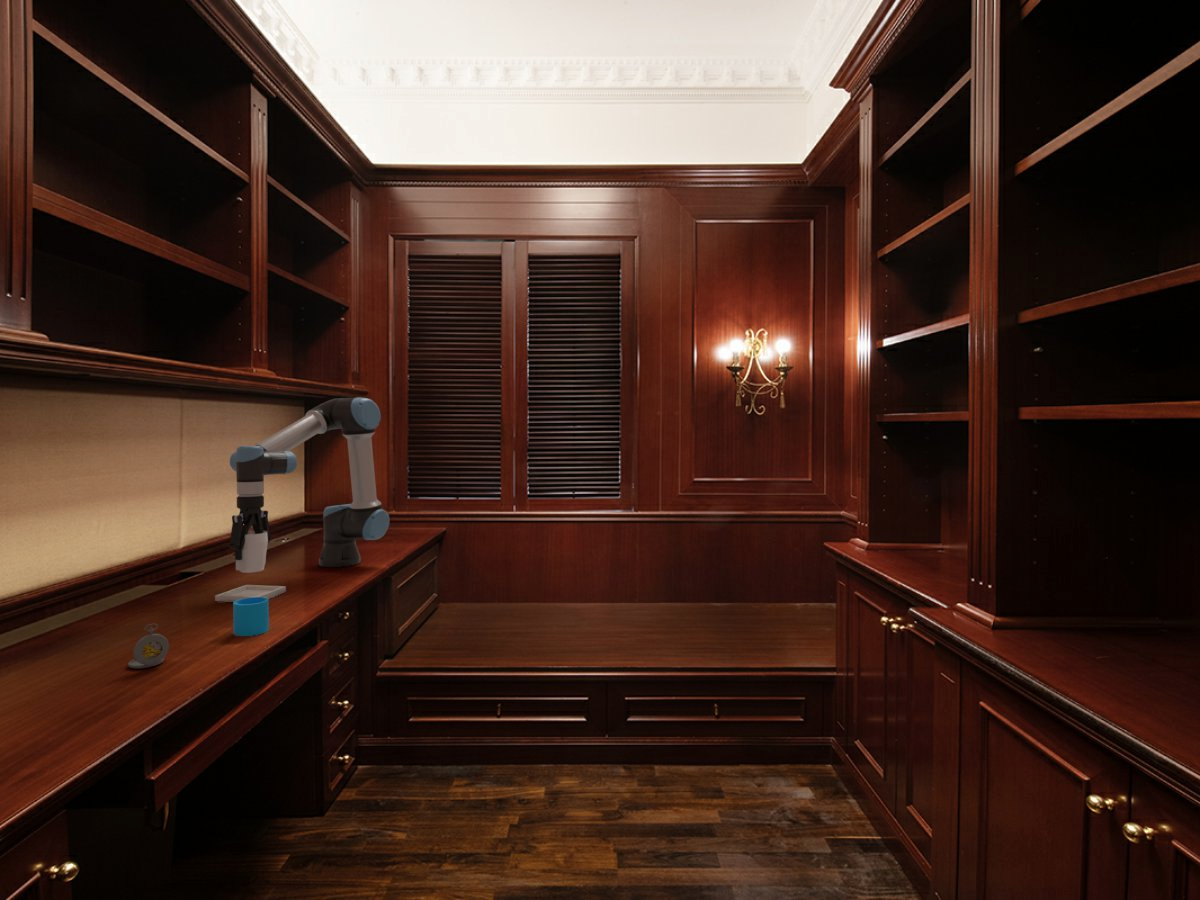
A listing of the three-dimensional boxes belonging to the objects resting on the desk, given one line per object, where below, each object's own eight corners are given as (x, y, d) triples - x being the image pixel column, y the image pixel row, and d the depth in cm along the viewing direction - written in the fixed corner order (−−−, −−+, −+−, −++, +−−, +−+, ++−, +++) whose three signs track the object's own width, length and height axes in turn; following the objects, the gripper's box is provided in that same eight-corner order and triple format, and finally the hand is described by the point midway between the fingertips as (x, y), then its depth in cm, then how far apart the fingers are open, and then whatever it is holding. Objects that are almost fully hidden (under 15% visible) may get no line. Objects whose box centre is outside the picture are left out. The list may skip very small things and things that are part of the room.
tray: (246, 590, 214) (246, 584, 214) (285, 592, 212) (285, 586, 212) (215, 602, 200) (215, 595, 200) (257, 603, 198) (257, 597, 198)
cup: (254, 574, 201) (253, 535, 200) (228, 572, 202) (228, 534, 202) (274, 568, 209) (274, 530, 209) (249, 566, 211) (249, 529, 211)
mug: (258, 637, 167) (258, 605, 167) (226, 636, 167) (226, 605, 167) (282, 623, 179) (281, 593, 179) (252, 623, 179) (251, 593, 179)
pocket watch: (144, 658, 151) (143, 615, 151) (178, 660, 150) (177, 617, 150) (114, 672, 143) (113, 626, 142) (150, 673, 142) (149, 627, 142)
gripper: (261, 491, 216) (262, 559, 217) (214, 498, 195) (215, 574, 196) (282, 492, 215) (283, 560, 216) (237, 499, 194) (238, 574, 195)
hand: (251, 566), depth 206 cm, fingers closed on cup, 9 cm apart
